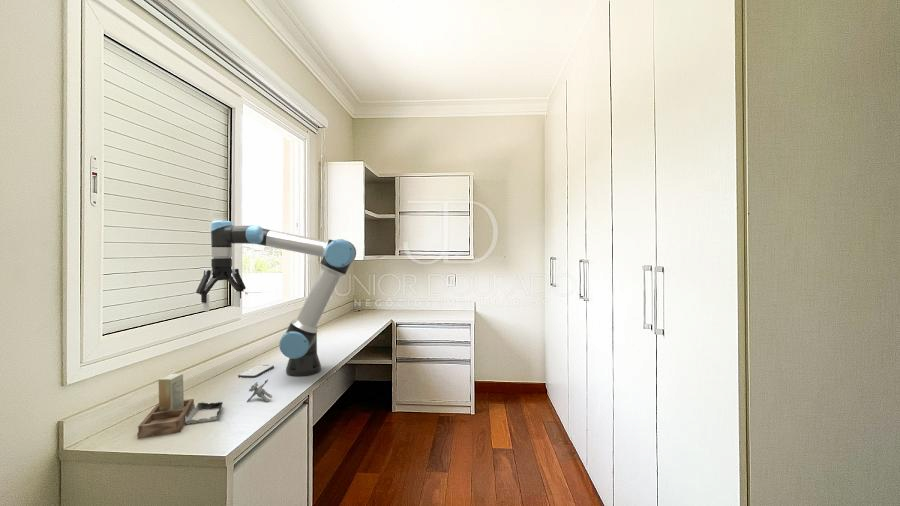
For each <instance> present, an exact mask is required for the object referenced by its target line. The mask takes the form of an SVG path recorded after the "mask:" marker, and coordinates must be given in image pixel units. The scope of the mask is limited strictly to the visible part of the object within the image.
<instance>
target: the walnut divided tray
mask: <svg viewBox="0 0 900 506" xmlns="http://www.w3.org/2000/svg"><path fill="white" fill-rule="evenodd" d="M194 402H195V399H194V398H189V399H184V408H183V409H178V410H171V411H163V412H159V402H158V403H157V404H156V405H155V406H154V408H153V409H152V410H151V411H150V412H149V413H148V414H147V416H146V417H145V418H144V419H143V420H142V421H141V423H139V425H138V427H137V431H138V432H137V433H136V434H137V435H136V437H142V438H146V437H145V436H149V437H153V436H152V435H155V436H161V435H168V434H174V432H176V433H182V431H181V430H183V429H184V427H185V425H187V424H186V422H185V416H186V415H188V414H189V413H190V411H192V409H193V408H194V407H196V405H195V403H194Z"/></svg>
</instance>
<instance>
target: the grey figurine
mask: <svg viewBox="0 0 900 506" xmlns="http://www.w3.org/2000/svg"><path fill="white" fill-rule="evenodd" d="M268 381H269V379H266V380H264V383H262V384H261V385H260V386H259V384H258V383H259V382H255V383H254V384H253V385H251V387H250V388H249V390H248V392H253V394H251V396H250V397H249V398H247V400H246V402H247V403H248V401H249V402H250V401H251V400H252V399H253V398H254V397H255V396H257V397H258V398H261V399H263V400H264V401H265V402H267V403H268V402H269V401H270V399H271V398H273V395H272V394H270V393H269V392H268V391H267V390H265V389H264V386H265V385H266V384H267V383H268ZM269 398H270V399H269Z"/></svg>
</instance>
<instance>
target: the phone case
mask: <svg viewBox="0 0 900 506" xmlns="http://www.w3.org/2000/svg"><path fill="white" fill-rule="evenodd" d="M274 369H275V365H273V364H258V365H256V366H255V365H254V366H253V367H251V368H249V369H247V370H246V371H243V372H241V373H239V374H238V375H237V377H238V379H239V378H240V377H241V378H240V379H255V378H256V379H257V378H258V377H260V376H262V375H264V374H265V372H266V373H267V371H268V372H270V371H271V370H274ZM269 370H270V371H269ZM263 373H264V374H263Z"/></svg>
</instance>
